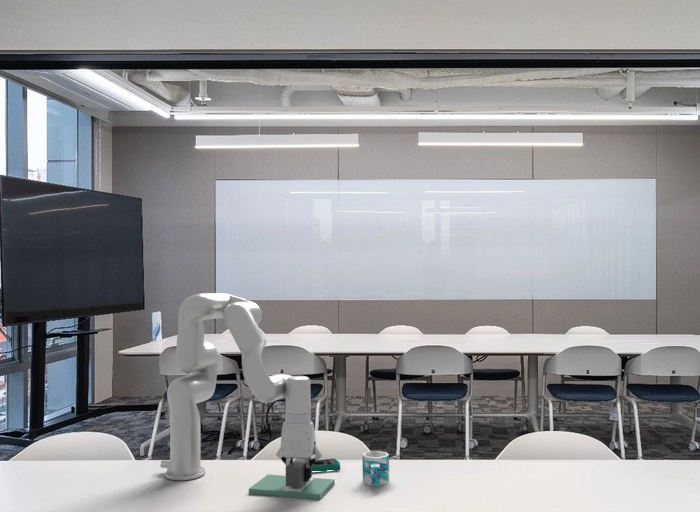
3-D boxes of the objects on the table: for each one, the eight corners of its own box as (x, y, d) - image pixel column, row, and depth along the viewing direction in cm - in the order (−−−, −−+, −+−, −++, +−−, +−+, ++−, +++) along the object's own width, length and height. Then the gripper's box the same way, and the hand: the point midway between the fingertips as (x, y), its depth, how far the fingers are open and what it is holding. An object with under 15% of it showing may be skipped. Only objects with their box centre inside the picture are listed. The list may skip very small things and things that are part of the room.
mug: (389, 477, 195) (388, 450, 195) (389, 489, 183) (389, 461, 183) (363, 477, 195) (362, 450, 196) (361, 489, 183) (361, 461, 184)
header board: (248, 493, 181) (248, 476, 181) (267, 479, 194) (267, 463, 194) (320, 499, 175) (319, 481, 175) (334, 484, 188) (334, 467, 189)
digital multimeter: (342, 472, 202) (341, 463, 202) (297, 475, 199) (297, 466, 199) (337, 466, 209) (337, 457, 210) (293, 469, 206) (293, 460, 206)
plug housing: (285, 486, 180) (285, 466, 180) (301, 472, 193) (301, 454, 193) (299, 487, 178) (299, 467, 179) (315, 473, 191) (314, 455, 192)
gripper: (267, 419, 184) (268, 482, 183) (321, 421, 179) (322, 485, 178) (277, 414, 191) (277, 474, 190) (328, 416, 186) (329, 478, 185)
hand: (299, 479), depth 184 cm, fingers closed on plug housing, 4 cm apart
